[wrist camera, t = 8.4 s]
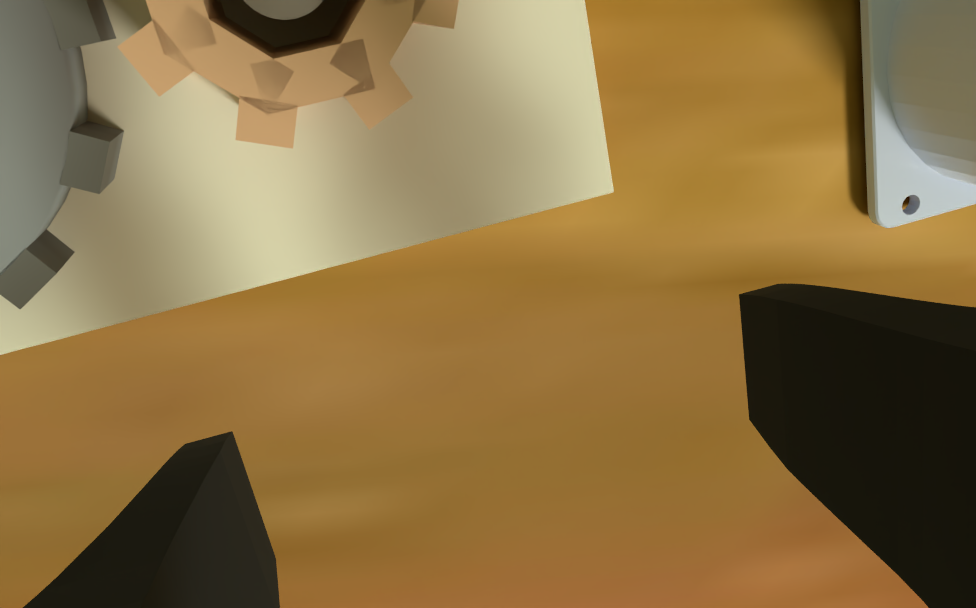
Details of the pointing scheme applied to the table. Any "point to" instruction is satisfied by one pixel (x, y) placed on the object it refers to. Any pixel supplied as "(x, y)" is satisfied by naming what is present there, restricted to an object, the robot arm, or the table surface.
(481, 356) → the table surface
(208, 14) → the loose gear
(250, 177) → the gear board
